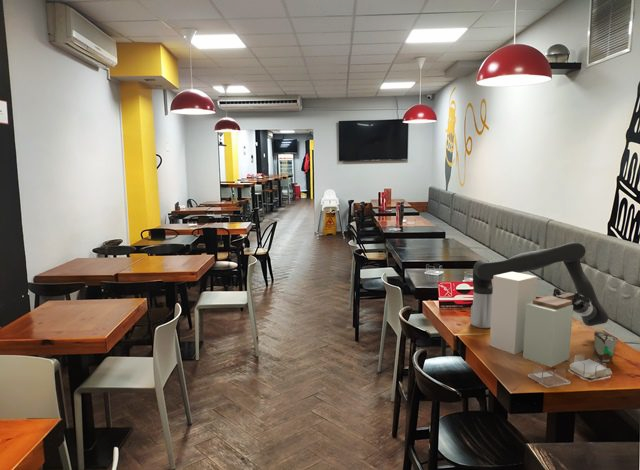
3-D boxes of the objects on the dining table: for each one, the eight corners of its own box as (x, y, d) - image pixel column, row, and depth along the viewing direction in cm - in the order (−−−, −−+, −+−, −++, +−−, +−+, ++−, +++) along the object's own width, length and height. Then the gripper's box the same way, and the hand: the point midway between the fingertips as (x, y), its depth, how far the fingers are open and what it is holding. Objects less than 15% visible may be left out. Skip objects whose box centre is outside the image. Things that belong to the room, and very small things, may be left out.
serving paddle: (532, 303, 192) (532, 298, 192) (560, 295, 205) (560, 290, 204) (556, 309, 184) (556, 304, 184) (584, 300, 197) (584, 295, 196)
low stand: (522, 357, 195) (526, 304, 191) (541, 349, 202) (544, 298, 199) (550, 367, 185) (554, 311, 182) (569, 359, 193) (573, 305, 190)
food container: (620, 366, 186) (622, 342, 184) (603, 365, 187) (605, 341, 185) (608, 354, 198) (610, 331, 196) (592, 353, 199) (594, 330, 197)
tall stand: (489, 345, 208) (493, 275, 203) (508, 339, 216) (512, 271, 211) (514, 354, 198) (518, 280, 193) (532, 347, 206) (537, 276, 201)
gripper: (567, 293, 212) (551, 280, 203) (600, 301, 200) (585, 287, 191) (561, 309, 211) (545, 296, 202) (594, 317, 199) (579, 304, 190)
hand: (565, 292), depth 197 cm, fingers open, 8 cm apart
